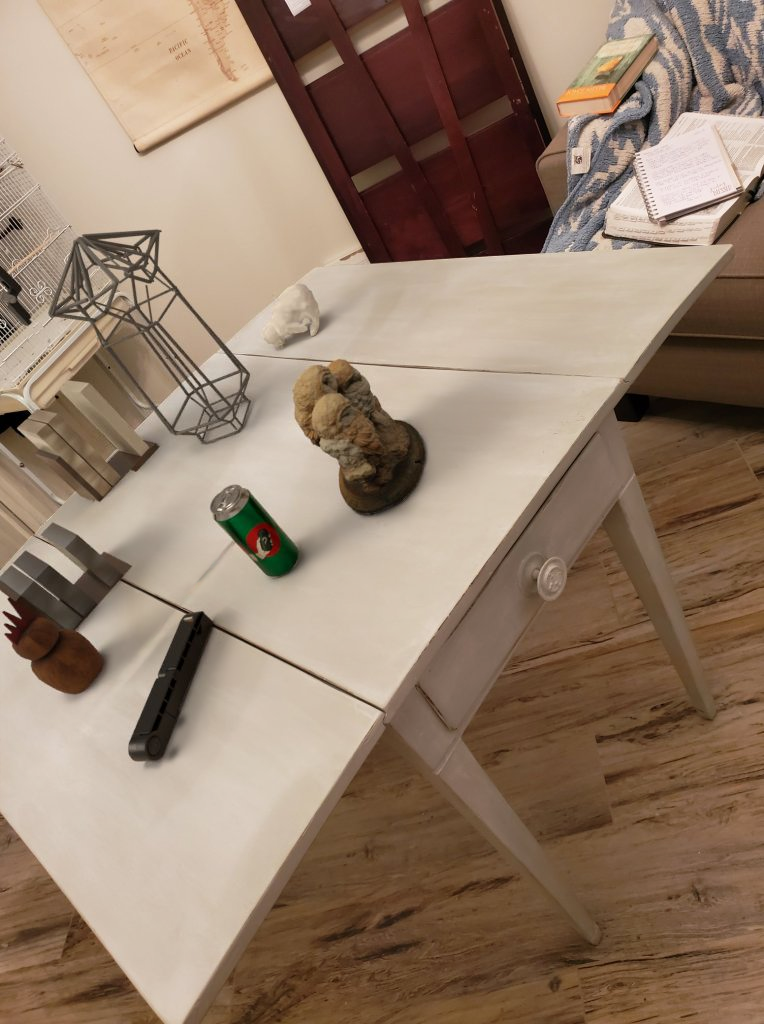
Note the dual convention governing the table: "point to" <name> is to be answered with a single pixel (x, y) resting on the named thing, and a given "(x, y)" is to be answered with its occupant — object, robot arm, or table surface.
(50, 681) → the wooden figurine
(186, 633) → the tablet stand
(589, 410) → the table surface
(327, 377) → the tan stone sculpture
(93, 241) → the geometric lantern
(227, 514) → the soda can
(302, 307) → the white lumpy piece
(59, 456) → the wooden book holder
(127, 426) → the cream rectangular block
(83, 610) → the grey rack
